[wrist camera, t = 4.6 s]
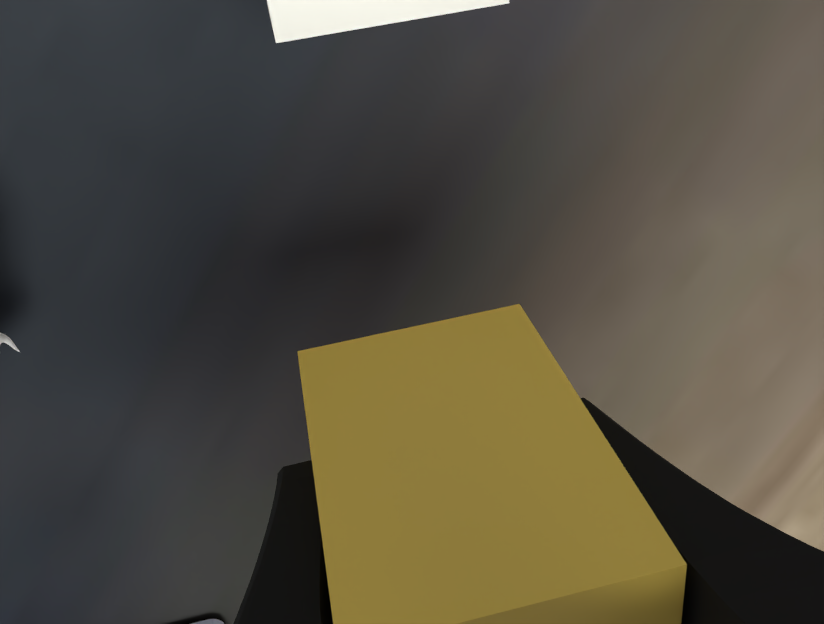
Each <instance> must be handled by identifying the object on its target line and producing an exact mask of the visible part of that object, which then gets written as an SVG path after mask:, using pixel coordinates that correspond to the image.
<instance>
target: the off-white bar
mask: <svg viewBox="0 0 824 624" xmlns="http://www.w3.org/2000/svg"><path fill="white" fill-rule="evenodd" d="M266 2H267V6H268V11H269V15H270V19H271V24H272V28H273V32H274V37H275V41H276V43H280V42H286V41H292V40H297V39H303V38H309V37H315V36H321V35H327V34H332V33H338V32H344V31H350V30H356V29H362V28H367V27H373V26H379V25H385V24H391V23H397V22H402V21H408V20H414V19H420V18H426V17H432V16H437V15H443V14H449V13H455V12H461V11H467V10H472V9H478V8H484V7H490V6H496V5H501V4H507V3H509V0H266Z"/></svg>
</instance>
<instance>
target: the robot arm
mask: <svg viewBox="0 0 824 624" xmlns="http://www.w3.org/2000/svg"><path fill="white" fill-rule="evenodd" d="M581 400H582V402H583V404H584V405H585V407H586V408H587V410H588V411H589V413H590V414H591V416H592V418H593V419H594V421H595V422H596V424H597V425H598V427H599V428H600V430H601V432H602V433H603V435H604V436H605V438H606V439H607V441H608V442H609V444H610V446H611V447H612V449H613V450H614V452H615V453H616V455H617V456H618V458H619V460H620V461H621V463H622V464H623V466H624V467H625V469H626V470H627V472H628V474H629V475H630V477H631V478H632V480H633V481H634V483H635V484H636V486H637V488H638V489H639V491H640V492H641V494H642V495H643V497H644V498H645V500H646V502H647V503H648V505H649V506H650V508H651V509H652V511H653V512H654V514H655V516H656V517H657V519H658V520H659V522H660V523H661V525H662V526H663V528H664V530H665V531H666V533H667V534H668V536H669V537H670V539H671V540H672V542H673V544H674V545H675V547H676V548H677V550H678V551H679V553H680V554H681V556H682V558H683V559H684V561H685V562H686V564H687V569H686V580H685V590H684V600H683V610H682V621H681V624H824V552H823V551H821V550H819V549H817V548H814V547H812V546H810V545H808V544H806V543H804V542H802V541H800V540H798V539H796V538H794V537H792V536H790V535H788V534H786V533H784V532H782V531H780V530H778V529H776V528H775V527H773V526H771V525H769V524H767V523H765V522H763V521H762V520H760V519H758V518H756V517H754V516H752V515H750V514H749V513H747V512H745V511H743V510H742V509H740V508H738V507H736V506H735V505H733V504H731V503H730V502H728V501H726V500H725V499H723V498H722V497H720V496H719V495H717V494H715V493H714V492H712V491H711V490H709V489H708V488H706V487H704V486H703V485H701V484H700V483H698V482H697V481H695V480H694V479H692V478H691V477H689V476H688V475H686V474H685V473H684V472H682V471H681V470H679V469H678V468H677V467H675V466H674V465H672V464H671V463H669V462H668V461H667V460H665V459H664V458H662V457H661V456H660V455H658V454H657V453H655V452H654V451H653V450H651V449H650V448H649V447H647V446H646V445H645V444H643V443H642V442H641V441H639V440H638V439H637V438H635V437H634V436H633V435H631V434H630V433H629V432H628V431H626V430H625V429H624V428H622V427H621V426H620V425H619V424H617V423H616V422H615V421H613V420H612V419H611V418H610V417H608V416H607V415H606V414H605V413H603V412H602V411H601V410H600V409H598V408H597V407H596V406H594V405H593V404H592V403H591V402H589V401H588V400H586V399H585V398H581ZM191 624H224V623H223V622H222V621H220V620H218V619H207V620H203V621H199V622H195V623H191ZM234 624H333V619H332V611H331V603H330V596H329V588H328V581H327V573H326V565H325V558H324V550H323V542H322V535H321V527H320V520H319V512H318V504H317V497H316V489H315V482H314V474H313V466H312V460H311V461H306V462H302V463H298V464H293V465H289V466H285V467H283V468H282V469H281V470H280V472H279V473H278V478H277V485H276V491H275V497H274V501H273V506H272V510H271V514H270V518H269V522H268V526H267V530H266V533H265V537H264V540H263V543H262V546H261V549H260V553H259V556H258V559H257V562H256V565H255V569H254V572H253V574H252V577H251V580H250V583H249V585H248V588H247V591H246V593H245V596H244V598H243V601H242V604H241V606H240V609H239V611H238V614H237V617H236V619H235V621H234Z"/></svg>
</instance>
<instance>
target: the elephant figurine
mask: <svg viewBox="0 0 824 624" xmlns="http://www.w3.org/2000/svg"><path fill="white" fill-rule="evenodd" d="M3 342H4V343H6V344H8V345H10V346H11V347H12V348H13V349H15V350H16V351H18V352H20V351H19V350H18V348H17V347H16V346H15V344H14V343H13V341H12V340H11V339H10V338H9V337H8V336H7V335H5V334H2V333H1V332H0V345H1V343H3Z"/></svg>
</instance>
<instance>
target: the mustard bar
mask: <svg viewBox="0 0 824 624" xmlns="http://www.w3.org/2000/svg"><path fill="white" fill-rule="evenodd" d="M297 352H298V360H299V367H300V375H301V382H302V390H303V398H304V405H305V413H306V421H307V428H308V436H309V443H310V451H311V459H312V466H313V474H314V482H315V489H316V497H317V504H318V512H319V520H320V527H321V535H322V542H323V550H324V558H325V565H326V573H327V581H328V588H329V596H330V603H331V611H332V619H333V624H681V621H682V610H683V600H684V590H685V580H686V569H687V564H686V562H685V561H684V559H683V558H682V556H681V554H680V553H679V551H678V550H677V548H676V547H675V545H674V544H673V542H672V540H671V539H670V537H669V536H668V534H667V533H666V531H665V530H664V528H663V526H662V525H661V523H660V522H659V520H658V519H657V517H656V516H655V514H654V512H653V511H652V509H651V508H650V506H649V505H648V503H647V502H646V500H645V498H644V497H643V495H642V494H641V492H640V491H639V489H638V488H637V486H636V484H635V483H634V481H633V480H632V478H631V477H630V475H629V474H628V472H627V470H626V469H625V467H624V466H623V464H622V463H621V461H620V460H619V458H618V456H617V455H616V453H615V452H614V450H613V449H612V447H611V446H610V444H609V442H608V441H607V439H606V438H605V436H604V435H603V433H602V432H601V430H600V428H599V427H598V425H597V424H596V422H595V421H594V419H593V418H592V416H591V414H590V413H589V411H588V410H587V408H586V407H585V405H584V404H583V402H582V400H581V399H580V397H579V396H578V394H577V393H576V391H575V390H574V388H573V386H572V385H571V383H570V382H569V380H568V379H567V377H566V376H565V374H564V372H563V371H562V369H561V368H560V366H559V365H558V363H557V362H556V360H555V358H554V357H553V355H552V354H551V352H550V351H549V349H548V348H547V346H546V344H545V343H544V341H543V340H542V338H541V337H540V335H539V334H538V332H537V330H536V329H535V327H534V326H533V324H532V323H531V321H530V320H529V318H528V316H527V315H526V313H525V312H524V310H523V309H522V307H521V306H520V304H517V305H512V306H507V307H503V308H498V309H493V310H488V311H484V312H479V313H474V314H470V315H465V316H460V317H456V318H451V319H446V320H442V321H437V322H432V323H428V324H423V325H418V326H414V327H409V328H404V329H399V330H395V331H390V332H385V333H381V334H376V335H371V336H367V337H362V338H357V339H353V340H348V341H343V342H339V343H334V344H329V345H324V346H320V347H315V348H310V349H306V350H301V351H297Z"/></svg>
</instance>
